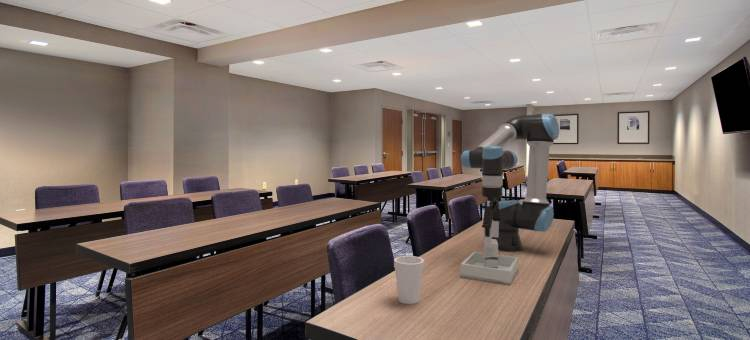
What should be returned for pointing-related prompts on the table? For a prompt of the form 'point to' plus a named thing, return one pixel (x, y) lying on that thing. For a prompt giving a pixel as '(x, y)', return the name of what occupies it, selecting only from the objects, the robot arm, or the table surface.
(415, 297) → the foam cup
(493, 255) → the ink box
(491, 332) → the table surface
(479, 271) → the tray
